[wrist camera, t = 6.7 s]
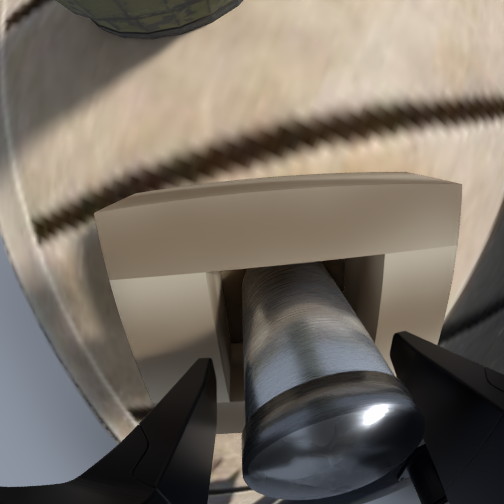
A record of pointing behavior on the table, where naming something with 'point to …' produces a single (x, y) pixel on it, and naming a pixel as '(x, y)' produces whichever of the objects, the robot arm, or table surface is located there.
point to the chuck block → (274, 262)
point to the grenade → (150, 15)
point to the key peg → (316, 390)
